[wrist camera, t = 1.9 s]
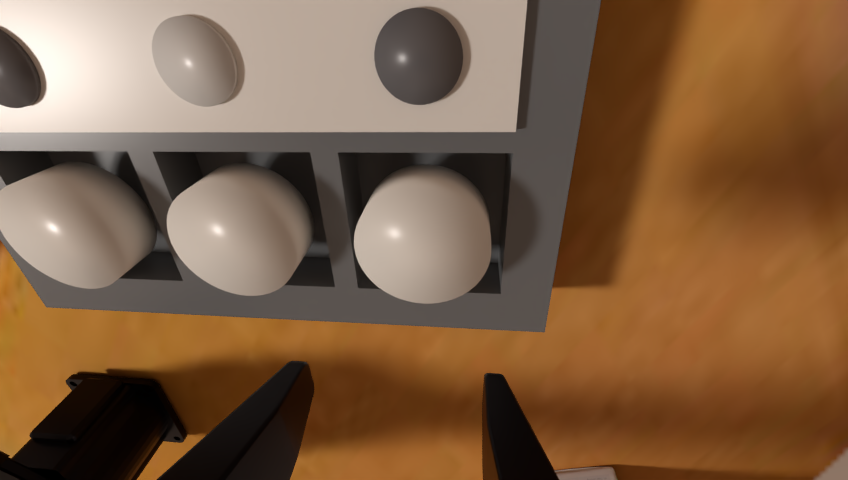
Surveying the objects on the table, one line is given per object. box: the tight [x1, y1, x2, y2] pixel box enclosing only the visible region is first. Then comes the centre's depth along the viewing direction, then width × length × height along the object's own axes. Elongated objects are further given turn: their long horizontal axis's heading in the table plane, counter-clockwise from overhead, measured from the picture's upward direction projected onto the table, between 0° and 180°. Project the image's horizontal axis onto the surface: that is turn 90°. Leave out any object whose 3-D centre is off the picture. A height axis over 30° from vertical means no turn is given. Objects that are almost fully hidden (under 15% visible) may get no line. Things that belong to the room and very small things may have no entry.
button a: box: [354, 164, 491, 304], centre depth 15 cm, size 5×5×2 cm
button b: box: [167, 163, 314, 296], centre depth 16 cm, size 5×5×2 cm
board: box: [0, 0, 601, 332], centre depth 16 cm, size 14×24×4 cm, turn 92°
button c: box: [0, 162, 157, 289], centre depth 16 cm, size 5×5×2 cm
